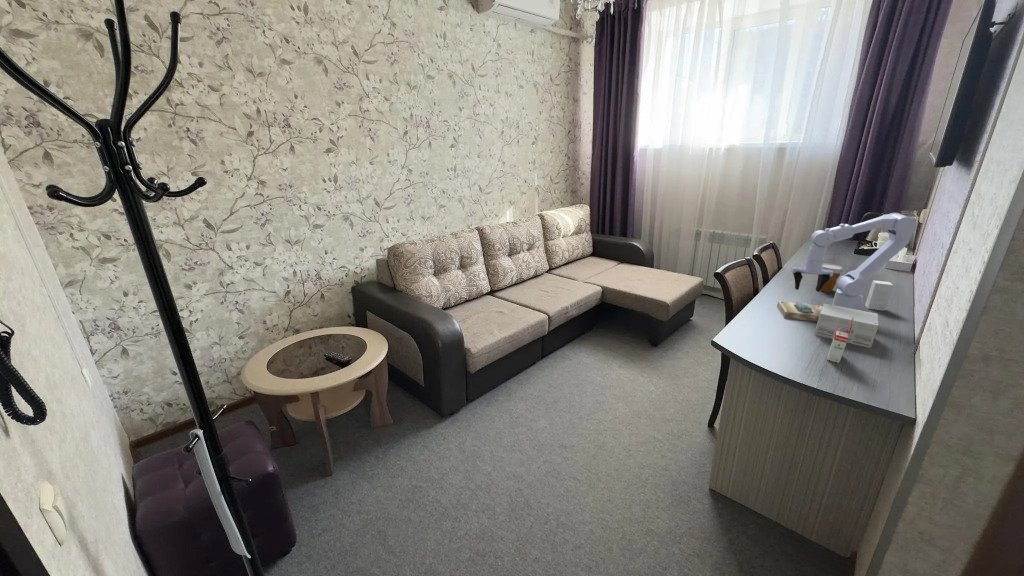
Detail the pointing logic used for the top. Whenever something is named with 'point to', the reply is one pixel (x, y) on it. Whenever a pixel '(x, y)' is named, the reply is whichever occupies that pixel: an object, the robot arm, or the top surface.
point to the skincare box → (879, 295)
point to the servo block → (803, 307)
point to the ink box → (839, 343)
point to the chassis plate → (791, 312)
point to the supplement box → (848, 324)
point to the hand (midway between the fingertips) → (806, 290)
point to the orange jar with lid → (832, 281)
